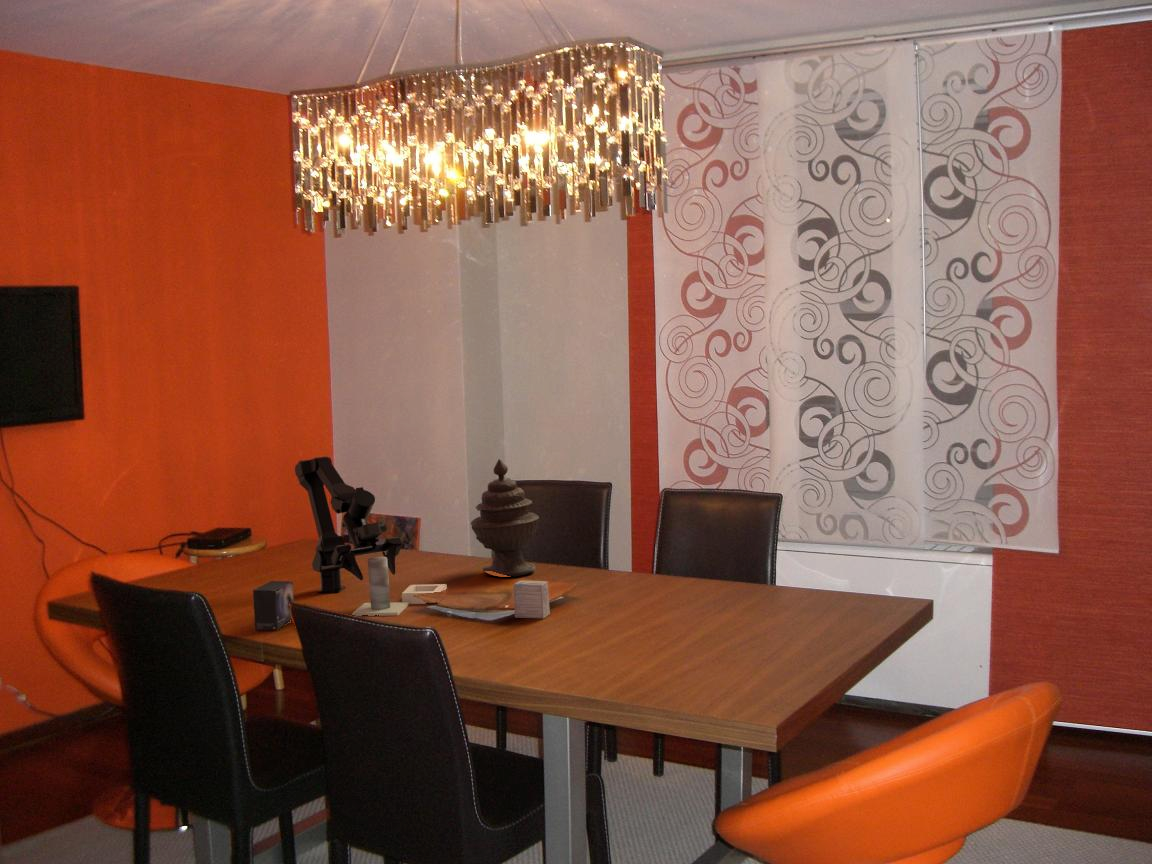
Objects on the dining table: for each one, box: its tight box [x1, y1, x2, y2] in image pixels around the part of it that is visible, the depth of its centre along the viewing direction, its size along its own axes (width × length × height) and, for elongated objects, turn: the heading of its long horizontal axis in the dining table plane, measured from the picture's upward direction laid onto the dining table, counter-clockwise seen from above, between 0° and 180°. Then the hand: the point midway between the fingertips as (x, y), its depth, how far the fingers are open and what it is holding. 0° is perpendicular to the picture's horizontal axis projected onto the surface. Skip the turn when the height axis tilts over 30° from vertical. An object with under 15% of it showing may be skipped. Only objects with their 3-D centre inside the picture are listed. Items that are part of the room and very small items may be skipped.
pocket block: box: [401, 583, 448, 605], centre depth 308 cm, size 10×10×3 cm
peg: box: [367, 556, 391, 610], centre depth 297 cm, size 5×5×13 cm
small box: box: [252, 580, 295, 631], centre depth 287 cm, size 11×6×10 cm, turn 168°
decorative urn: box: [470, 458, 540, 578], centre depth 335 cm, size 20×20×35 cm
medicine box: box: [512, 580, 551, 619], centre depth 284 cm, size 8×4×9 cm, turn 71°
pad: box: [351, 601, 410, 617], centre depth 298 cm, size 11×12×1 cm
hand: (378, 576), depth 297 cm, fingers open, 9 cm apart
